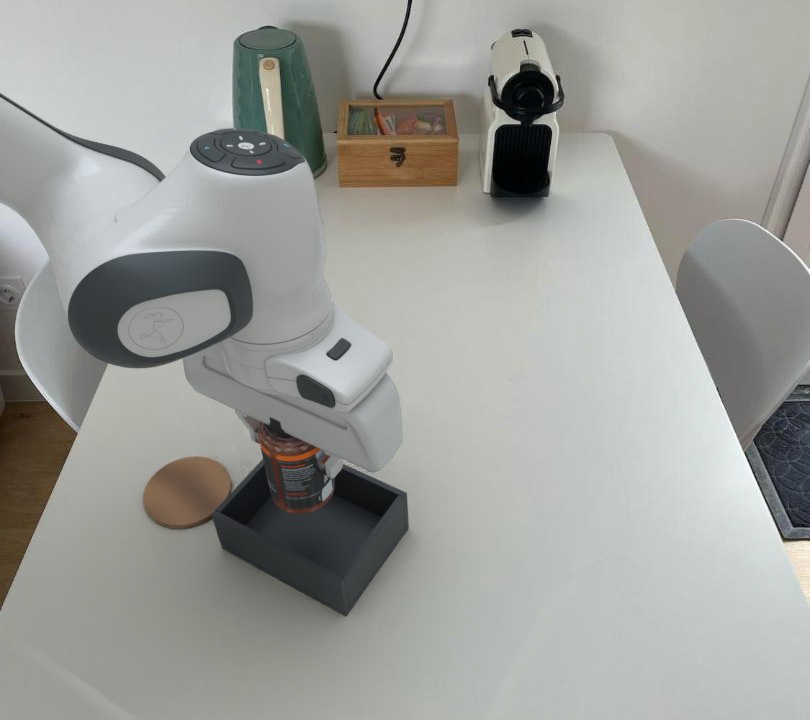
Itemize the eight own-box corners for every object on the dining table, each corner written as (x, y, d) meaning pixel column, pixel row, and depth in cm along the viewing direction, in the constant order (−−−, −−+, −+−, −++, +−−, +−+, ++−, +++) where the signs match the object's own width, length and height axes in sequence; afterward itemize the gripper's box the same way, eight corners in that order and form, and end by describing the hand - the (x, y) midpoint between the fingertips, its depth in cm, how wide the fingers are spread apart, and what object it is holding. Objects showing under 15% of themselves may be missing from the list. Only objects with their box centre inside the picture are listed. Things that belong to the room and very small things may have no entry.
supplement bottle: (347, 497, 74) (338, 410, 66) (290, 528, 72) (273, 442, 64) (315, 456, 78) (303, 370, 70) (259, 484, 75) (240, 398, 68)
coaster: (191, 542, 80) (190, 538, 80) (126, 506, 84) (124, 502, 83) (249, 480, 86) (248, 476, 85) (185, 448, 89) (184, 444, 89)
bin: (346, 616, 74) (340, 583, 70) (221, 549, 79) (210, 514, 76) (409, 527, 81) (407, 492, 77) (290, 471, 86) (283, 436, 83)
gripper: (148, 315, 64) (184, 434, 73) (365, 407, 56) (374, 527, 65) (202, 274, 68) (229, 392, 77) (411, 354, 60) (414, 475, 69)
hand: (297, 455), depth 71 cm, fingers closed on supplement bottle, 6 cm apart
